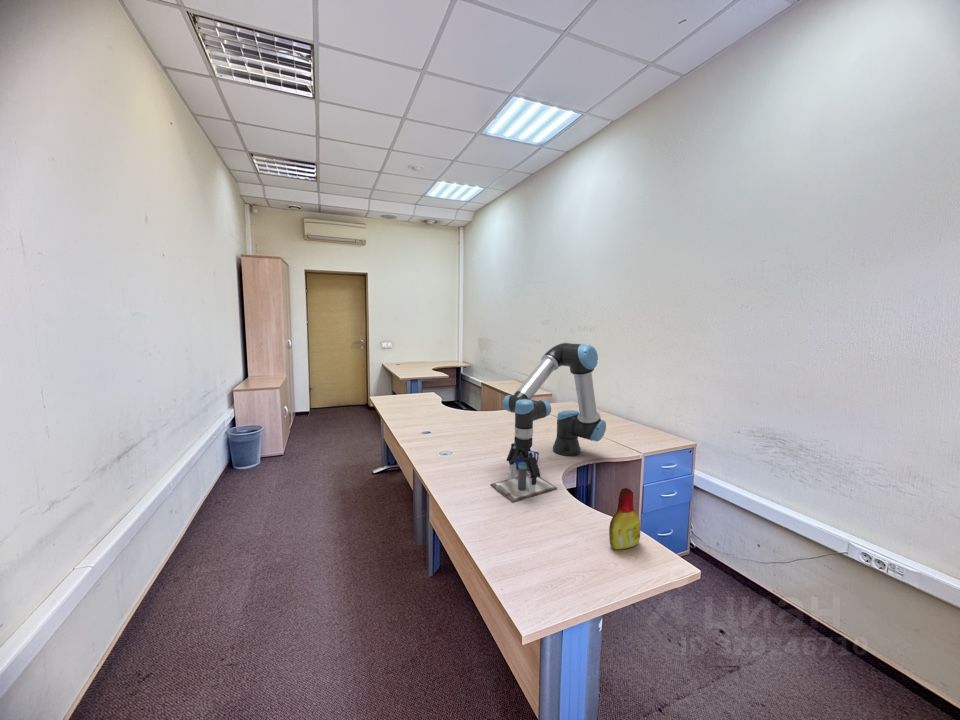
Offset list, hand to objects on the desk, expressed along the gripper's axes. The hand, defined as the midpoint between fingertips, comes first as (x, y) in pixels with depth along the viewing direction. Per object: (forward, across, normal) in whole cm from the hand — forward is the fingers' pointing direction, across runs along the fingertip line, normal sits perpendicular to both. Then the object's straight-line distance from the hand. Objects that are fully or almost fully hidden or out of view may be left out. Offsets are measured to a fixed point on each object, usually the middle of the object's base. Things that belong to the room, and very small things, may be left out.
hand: (522, 484), depth 154 cm
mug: (+4, -19, +17) cm, 26 cm away
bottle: (+4, +45, +8) cm, 46 cm away
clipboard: (+4, -4, +4) cm, 7 cm away
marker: (+3, 0, 0) cm, 3 cm away
